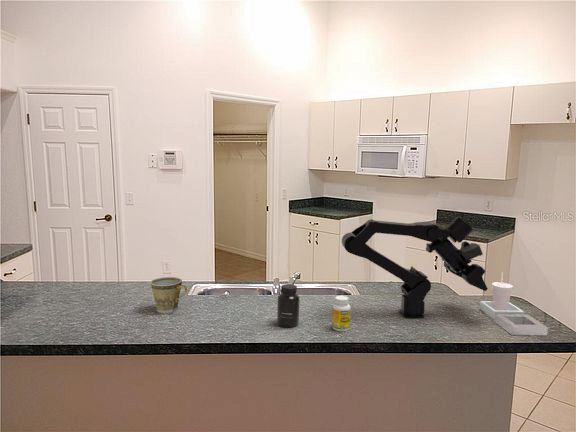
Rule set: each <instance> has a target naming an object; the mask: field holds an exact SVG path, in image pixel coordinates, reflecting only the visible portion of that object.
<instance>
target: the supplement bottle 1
mask: <svg viewBox="0 0 576 432" xmlns="http://www.w3.org/2000/svg"><path fill="white" fill-rule="evenodd" d="M297 288H298V287H297V285H295V284H289V283H287V284H285V283H284V284H282V285H281V286H280V294H279V295H278V296H277V304H276V305H277V306H276V307H277V309H276V311H277V312H276V323H277V325H278V326H279V327H282V328H286V329H287V328H288V329H289V328H295V327H297V326H298V325H299V322H300V305H301V304H300V303H301V301H300V300H301V299H300V296H299V295H298V289H297Z"/></svg>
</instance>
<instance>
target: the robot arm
mask: <svg viewBox="0 0 576 432" xmlns="http://www.w3.org/2000/svg"><path fill="white" fill-rule="evenodd" d="M473 232H474V229H473V228H472V226H471V225H470V224H468V223H467V222H465V220H463V219H462V218H461V217H459V216H455V217H454V218H453V219H452V221H451V222H450V223H449V224H447V225H446V227H443V226H442V225H441V226H439V225H437V224H435V223H433V222H430V221H416V222H412V223H405V222H395V221H385V220H376V219H375V220H374V219H368V220H367V221H365V223H363V224H362V225H360V226H359V227H356V228H355V229H353V230H352V231H351V232H346V233H345V234H344V235H343V236H342V237H341V244H342V245H341V246H342V247H343V248H344V249H345V251H346V252H348V253H349V254H352V255H353V256H356V257H360V258H363V259H366V260H368V261H370V262H371V263H372V264H374V265H377V266H378V267H380V268H382V269H383V270H384V271H386V272H388V273H389V274H392V275H393V276H394V277H396V278H398V279H400V280H401V281H402V282H403V284H402V285H400V291H401V293H403V294H401V305H400V306H401V308H400V309H399V312H400V314H402V316H403V317H404V318H410V319H411V318H413V319H415V318H420V319H421V318H422V319H423V318H425V315H424V314H425V305H426V304H425V303H426V302H425V301H424V300H425V299H426V297H427V294H428V293H429V292H430V291H431V290H432V289H431V288H432V283H431V281H430V280H429V279H428V278H429V276H428V275H426V274H425V273H423V272H422V271H420V270H417V268H415V267H414V266H413V265H411V267H410V268H406V267H403V266H402V265H400V264H398V263H397V262H395V261H394V260H392V259H391V258H389V257H387V256H386V255H384V254H382V253H381V252H379V251H377V250H376V249H374V248H372V247H370V245H368V242H369V240H370V239H371V238H372V237H373V236H374V235H376V234H386V235H394V236H395V235H396V236H405V237H406V236H407V237H413V238H416V239H419V240H423V241H426V248H425V251H426V252H427V253H429V254H431V253H433V252H435V253H436V254H437V255H438V256H439V257H440V258H441V260H442V262H443V267H444V268H445V269H446V270H447V271H449V273H452V274H453V275H455V276H456V277H459V278H462V279H463V281H465V282H466V283H467V284H469V285H471V286H472V287H475V288H477V289H480V290H481V291H484V292H486V291H487V290H488V287H487V285H486V282H485V280H484V278H483V275H484V274H485V273H486V270H485V269H484V268H483V267H482V266H481V265H479V264H477V263H472V262H473V261H472V260H473V259H475V258H477V257H481V256H483V253H484V252H483V251H482V248H481V245H480V244H477V243H475V242H470V243H469V242H468V241H466V240H465V239H466V238H467V237H468V236H470V234H472V233H473ZM428 242H430V243H428ZM455 243H460V244H461V247H460V248H459V249H458V247H456V245H455ZM471 263H472V264H471ZM469 264H470V265H469Z"/></svg>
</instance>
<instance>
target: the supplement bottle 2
mask: <svg viewBox="0 0 576 432" xmlns="http://www.w3.org/2000/svg"><path fill="white" fill-rule="evenodd" d="M349 300H350V299H349V297H348V296H346V295H337V296H335V297H334V302H335V303H333V305H332V325H331V326H332V329H333V330H334V331H337V332H348V331H349V330H351V329H350V328H351V313H352V312H351V305H350V304H349Z"/></svg>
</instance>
